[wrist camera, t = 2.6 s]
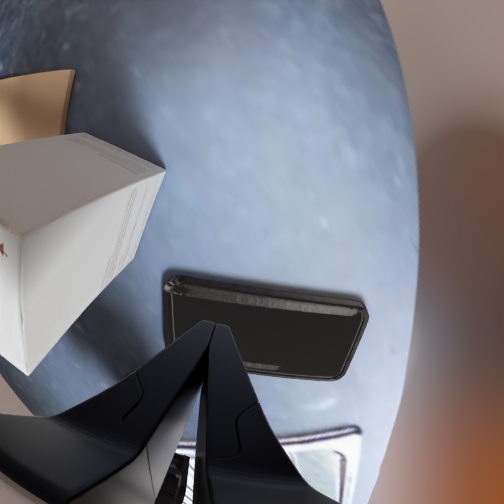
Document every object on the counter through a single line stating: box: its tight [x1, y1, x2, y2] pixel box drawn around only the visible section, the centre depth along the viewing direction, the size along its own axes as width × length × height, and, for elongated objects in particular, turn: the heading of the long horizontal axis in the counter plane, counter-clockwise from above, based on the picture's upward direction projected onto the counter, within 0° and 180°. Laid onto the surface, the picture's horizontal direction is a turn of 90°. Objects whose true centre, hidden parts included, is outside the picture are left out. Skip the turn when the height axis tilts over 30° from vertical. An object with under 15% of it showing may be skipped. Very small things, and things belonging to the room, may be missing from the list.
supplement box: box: [0, 133, 166, 376], centre depth 13 cm, size 7×7×13 cm
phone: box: [163, 276, 369, 381], centre depth 22 cm, size 8×1×15 cm
